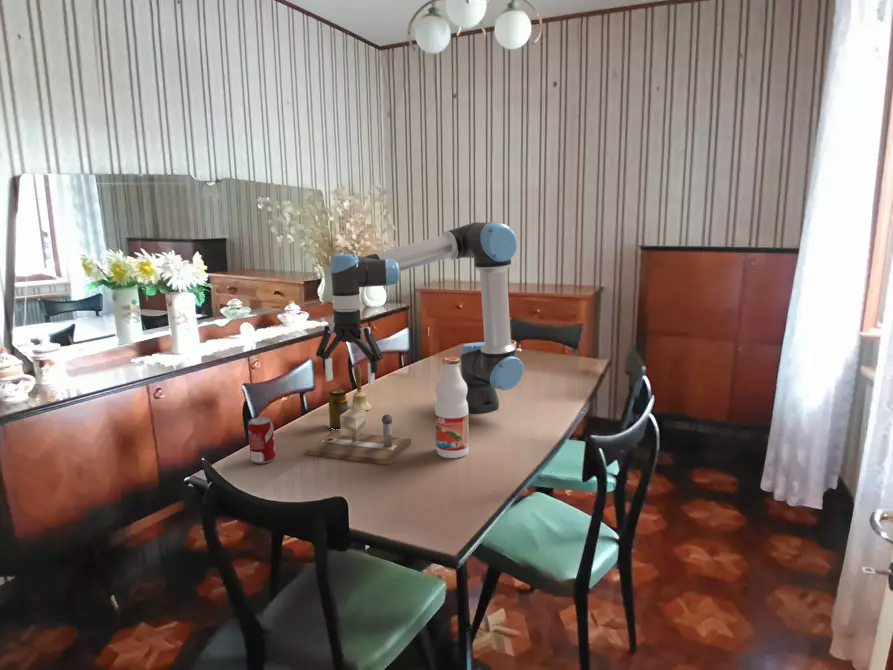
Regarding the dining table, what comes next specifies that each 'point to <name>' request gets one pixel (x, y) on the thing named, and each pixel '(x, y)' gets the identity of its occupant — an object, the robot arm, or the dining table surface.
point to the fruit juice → (451, 411)
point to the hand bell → (359, 394)
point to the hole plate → (362, 446)
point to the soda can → (261, 440)
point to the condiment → (337, 408)
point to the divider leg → (352, 423)
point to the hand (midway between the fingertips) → (350, 382)
